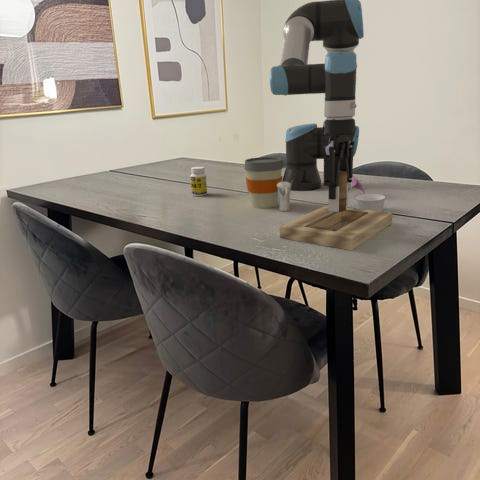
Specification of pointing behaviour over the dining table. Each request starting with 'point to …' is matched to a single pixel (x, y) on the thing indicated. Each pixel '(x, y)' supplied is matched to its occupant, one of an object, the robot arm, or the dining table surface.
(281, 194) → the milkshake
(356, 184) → the lily
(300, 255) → the dining table surface
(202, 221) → the dining table surface
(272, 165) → the reusable coffee cup
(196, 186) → the supplement bottle
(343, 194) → the peg
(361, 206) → the ramekin
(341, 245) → the seat board
